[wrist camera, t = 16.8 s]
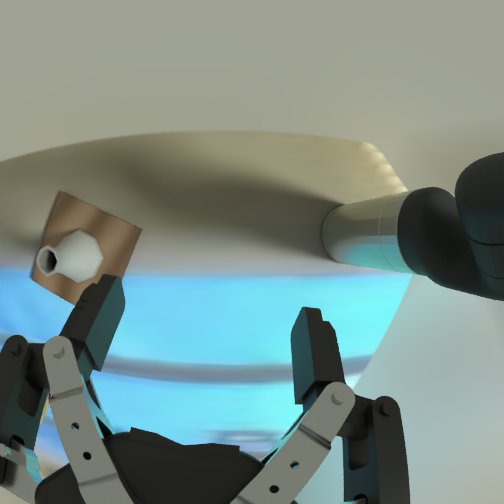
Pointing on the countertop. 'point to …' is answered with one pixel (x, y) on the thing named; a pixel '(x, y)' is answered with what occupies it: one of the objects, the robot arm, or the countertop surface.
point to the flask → (72, 257)
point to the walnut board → (97, 225)
